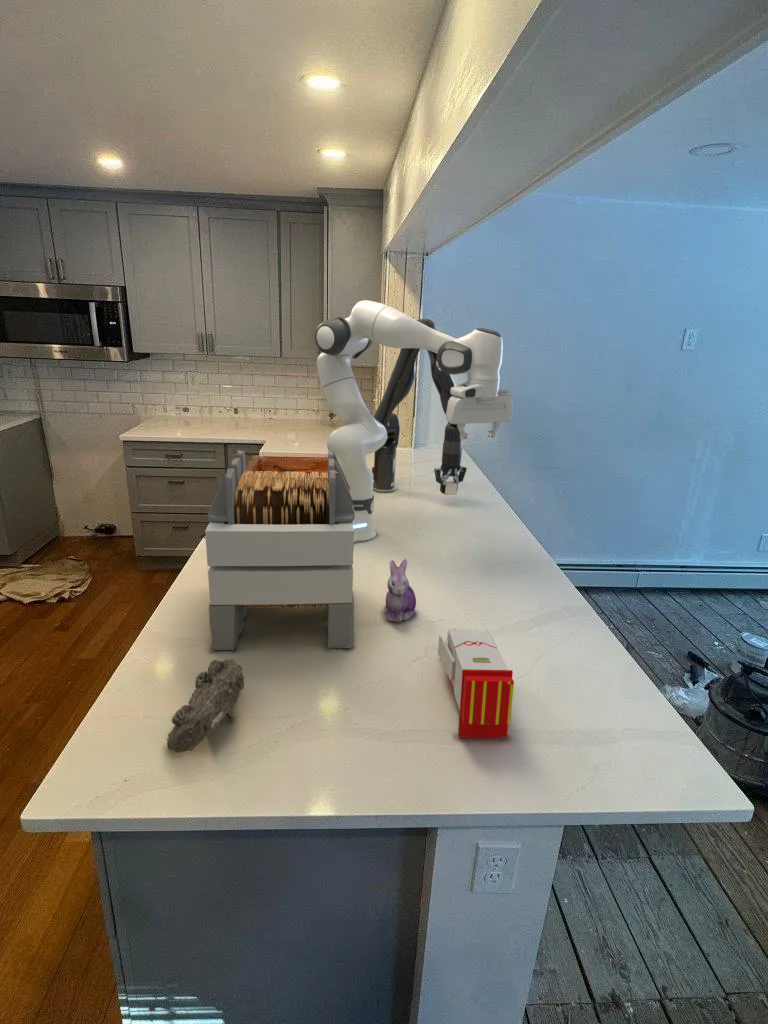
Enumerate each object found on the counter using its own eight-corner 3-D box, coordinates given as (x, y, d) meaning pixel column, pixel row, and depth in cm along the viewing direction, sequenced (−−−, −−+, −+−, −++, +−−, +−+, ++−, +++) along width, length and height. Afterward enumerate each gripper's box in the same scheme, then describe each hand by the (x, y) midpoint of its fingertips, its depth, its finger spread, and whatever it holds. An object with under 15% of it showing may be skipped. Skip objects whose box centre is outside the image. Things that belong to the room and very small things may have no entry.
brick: (456, 494, 227) (457, 484, 225) (446, 495, 225) (447, 485, 223) (450, 491, 231) (451, 480, 229) (440, 492, 229) (441, 481, 227)
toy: (488, 613, 130) (523, 677, 101) (484, 667, 133) (517, 744, 104) (435, 612, 130) (455, 676, 101) (432, 666, 133) (451, 743, 103)
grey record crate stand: (230, 583, 159) (223, 441, 145) (347, 582, 163) (350, 443, 149) (209, 652, 127) (196, 479, 114) (354, 649, 131) (359, 480, 117)
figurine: (392, 627, 141) (395, 572, 136) (374, 608, 149) (376, 556, 144) (425, 619, 145) (429, 566, 140) (405, 601, 154) (408, 550, 149)
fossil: (192, 660, 117) (244, 628, 112) (224, 691, 120) (276, 661, 115) (142, 746, 98) (202, 712, 93) (182, 779, 101) (242, 748, 96)
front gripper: (506, 387, 166) (501, 434, 170) (445, 388, 158) (441, 437, 162) (519, 390, 160) (513, 438, 165) (456, 391, 152) (452, 442, 157)
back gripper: (462, 447, 228) (459, 488, 234) (431, 449, 222) (428, 491, 228) (472, 452, 222) (468, 493, 227) (440, 454, 216) (437, 497, 222)
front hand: (477, 438), depth 164 cm, fingers open, 8 cm apart
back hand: (448, 492), depth 228 cm, fingers closed on brick, 4 cm apart
